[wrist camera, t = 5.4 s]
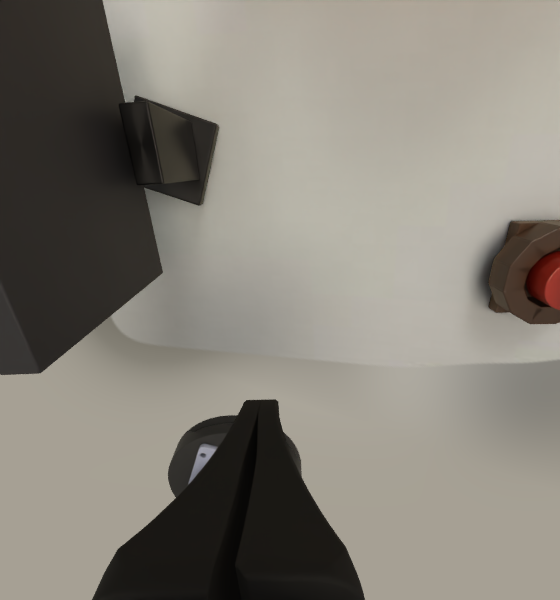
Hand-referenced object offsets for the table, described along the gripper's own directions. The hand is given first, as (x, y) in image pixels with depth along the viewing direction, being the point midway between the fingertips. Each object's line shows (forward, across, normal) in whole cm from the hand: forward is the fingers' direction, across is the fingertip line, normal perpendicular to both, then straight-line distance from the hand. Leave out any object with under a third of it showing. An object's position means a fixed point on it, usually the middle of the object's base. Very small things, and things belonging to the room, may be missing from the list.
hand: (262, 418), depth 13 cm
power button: (+8, -17, -3) cm, 19 cm away
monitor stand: (+10, +6, -11) cm, 16 cm away
